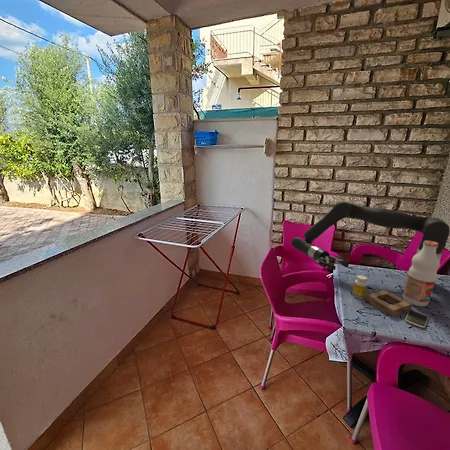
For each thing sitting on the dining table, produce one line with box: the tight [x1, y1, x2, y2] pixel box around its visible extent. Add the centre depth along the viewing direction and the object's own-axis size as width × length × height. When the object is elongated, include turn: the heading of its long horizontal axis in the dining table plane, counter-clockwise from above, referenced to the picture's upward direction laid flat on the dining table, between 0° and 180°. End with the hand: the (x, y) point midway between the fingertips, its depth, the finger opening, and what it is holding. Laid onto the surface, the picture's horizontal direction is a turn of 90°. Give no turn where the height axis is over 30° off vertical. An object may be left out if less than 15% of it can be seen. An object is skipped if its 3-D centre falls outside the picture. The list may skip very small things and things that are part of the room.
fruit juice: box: [401, 240, 441, 307], centre depth 104 cm, size 9×9×28 cm
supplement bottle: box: [352, 274, 369, 300], centre depth 111 cm, size 5×5×10 cm
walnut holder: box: [364, 289, 413, 318], centre depth 104 cm, size 12×12×3 cm
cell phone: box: [404, 308, 430, 329], centre depth 96 cm, size 6×11×1 cm, turn 134°
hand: (341, 267), depth 119 cm, fingers open, 8 cm apart
